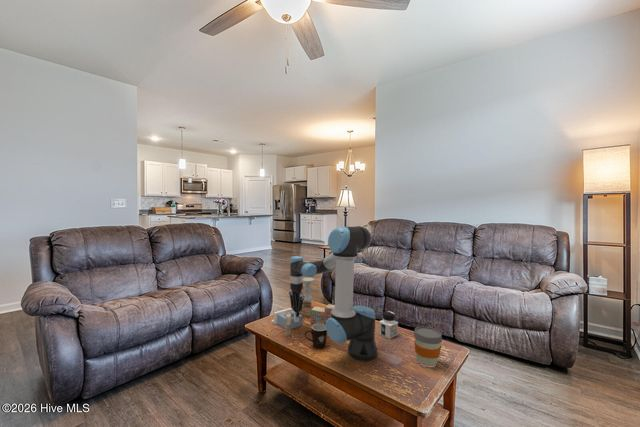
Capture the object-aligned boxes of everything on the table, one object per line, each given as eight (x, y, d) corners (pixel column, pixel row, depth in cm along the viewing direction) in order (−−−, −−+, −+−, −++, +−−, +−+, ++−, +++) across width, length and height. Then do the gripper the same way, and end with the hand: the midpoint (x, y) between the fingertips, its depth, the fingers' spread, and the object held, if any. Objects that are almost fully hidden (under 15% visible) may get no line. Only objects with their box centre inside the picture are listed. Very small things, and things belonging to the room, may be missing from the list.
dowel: (291, 336, 159) (292, 311, 158) (287, 337, 157) (287, 313, 156) (288, 334, 161) (289, 310, 161) (284, 335, 159) (284, 311, 159)
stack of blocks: (310, 324, 175) (311, 304, 175) (314, 320, 181) (315, 301, 180) (343, 331, 167) (343, 310, 166) (346, 326, 173) (347, 307, 172)
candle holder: (309, 318, 184) (310, 282, 183) (295, 314, 190) (296, 279, 189) (317, 312, 194) (318, 278, 193) (304, 309, 199) (305, 275, 198)
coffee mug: (327, 342, 153) (328, 324, 152) (326, 350, 144) (327, 331, 144) (306, 340, 154) (307, 322, 154) (304, 348, 145) (304, 329, 145)
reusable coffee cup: (408, 363, 135) (410, 332, 134) (418, 352, 144) (419, 323, 144) (435, 373, 127) (437, 341, 126) (444, 362, 136) (445, 331, 136)
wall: (294, 318, 182) (294, 308, 182) (275, 324, 173) (275, 313, 173) (289, 316, 186) (289, 305, 186) (271, 321, 177) (271, 310, 177)
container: (389, 339, 158) (390, 316, 157) (378, 334, 164) (379, 312, 163) (397, 335, 163) (398, 313, 162) (386, 330, 169) (387, 309, 168)
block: (302, 325, 173) (302, 315, 173) (287, 330, 166) (287, 320, 166) (292, 319, 181) (292, 310, 181) (277, 323, 174) (277, 314, 174)
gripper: (308, 283, 165) (308, 323, 166) (295, 279, 175) (295, 316, 176) (297, 285, 160) (297, 326, 161) (285, 281, 170) (285, 319, 171)
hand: (296, 321), depth 168 cm, fingers closed
